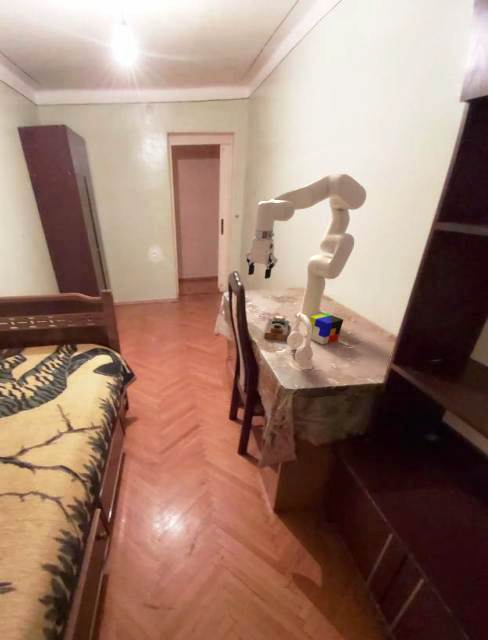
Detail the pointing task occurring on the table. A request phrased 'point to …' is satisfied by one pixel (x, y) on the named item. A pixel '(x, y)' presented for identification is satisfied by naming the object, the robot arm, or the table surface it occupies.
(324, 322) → the puzzle toy
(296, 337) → the headset
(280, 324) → the key ebony
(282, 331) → the block walnut
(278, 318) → the key ivory
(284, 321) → the block black
